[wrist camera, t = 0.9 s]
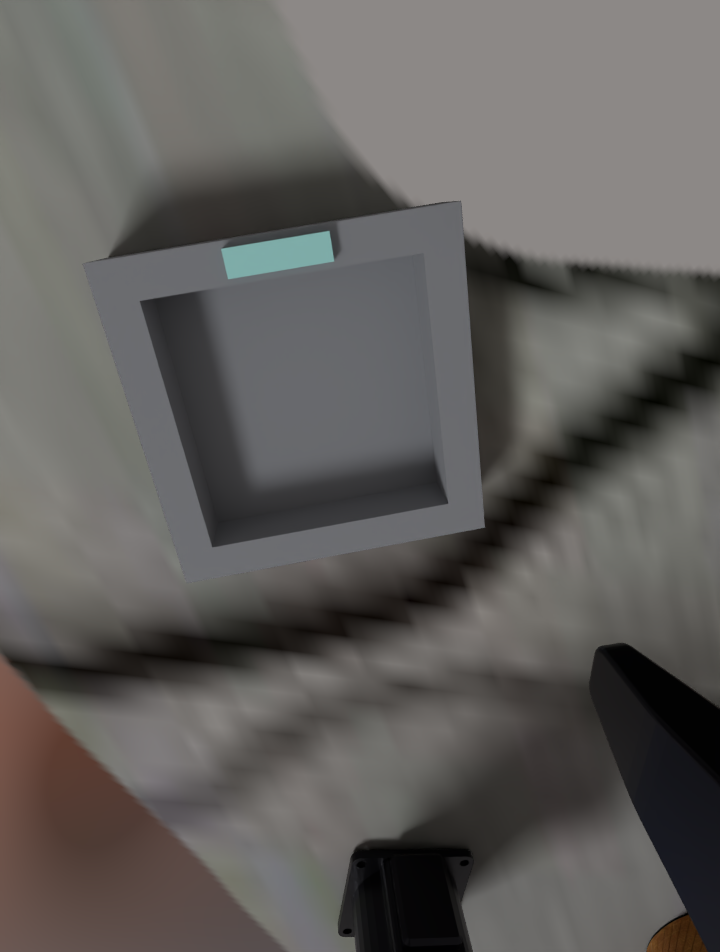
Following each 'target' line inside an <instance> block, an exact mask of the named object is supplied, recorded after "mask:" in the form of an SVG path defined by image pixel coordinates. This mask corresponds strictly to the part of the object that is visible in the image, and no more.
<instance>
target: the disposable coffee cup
mask: <svg viewBox="0 0 720 952" xmlns="http://www.w3.org/2000/svg"><path fill="white" fill-rule="evenodd" d="M647 952H708V951H707V949H706V947H705V945H704V943H703V941H702V939H701V937H700V935H699V933H698V931H697V930H696V928H695V926H694V924H693V922H692V920H691V918H690V916H689V915H687V916H684V917H682V918H679V919H677V920H675V921H673V922H672V923H670V924H668V925H667V926H665V927H664V928H663V929H661V930H660V931H659V932H658V933H657V934H656V935H655V936H654V937H653V939H652V940H651V942H650V943H649V945H648V948H647Z"/></svg>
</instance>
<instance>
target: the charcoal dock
mask: <svg viewBox="0 0 720 952" xmlns="http://www.w3.org/2000/svg"><path fill="white" fill-rule="evenodd" d="M83 266H84V269H85V272H86V276H87V279H88V282H89V285H90V288H91V291H92V294H93V297H94V300H95V303H96V306H97V309H98V312H99V316H100V319H101V322H102V325H103V328H104V331H105V334H106V337H107V340H108V343H109V346H110V349H111V352H112V355H113V359H114V362H115V365H116V368H117V371H118V374H119V377H120V380H121V383H122V386H123V389H124V392H125V395H126V399H127V402H128V405H129V408H130V411H131V414H132V417H133V420H134V423H135V426H136V429H137V432H138V435H139V439H140V442H141V445H142V448H143V451H144V454H145V457H146V460H147V463H148V466H149V469H150V472H151V475H152V478H153V482H154V485H155V488H156V491H157V494H158V497H159V500H160V503H161V506H162V509H163V512H164V515H165V518H166V522H167V525H168V528H169V531H170V534H171V537H172V540H173V543H174V546H175V549H176V552H177V555H178V558H179V561H180V565H181V568H182V571H183V574H184V577H185V580H186V583H191V582H196V581H202V580H207V579H212V578H218V577H223V576H228V575H234V574H239V573H244V572H250V571H255V570H260V569H266V568H271V567H277V566H282V565H287V564H293V563H298V562H303V561H309V560H314V559H319V558H325V557H330V556H335V555H341V554H346V553H351V552H357V551H362V550H367V549H373V548H378V547H383V546H389V545H394V544H399V543H405V542H410V541H415V540H421V539H426V538H431V537H437V536H442V535H447V534H453V533H458V532H463V531H469V530H474V529H479V528H485V525H484V511H483V497H482V483H481V469H480V456H479V442H478V428H477V414H476V400H475V386H474V372H473V358H472V344H471V330H470V317H469V303H468V289H467V275H466V261H465V247H464V233H463V219H462V206H461V201H453V202H441V203H435V204H429V205H423V206H417V207H411V208H405V209H399V210H393V211H387V212H381V213H375V214H369V215H363V216H357V217H351V218H344V219H338V220H332V221H326V222H320V223H314V224H308V225H302V226H296V227H290V228H284V229H278V230H272V231H266V232H260V233H254V234H248V235H242V236H236V237H230V238H224V239H218V240H212V241H206V242H200V243H194V244H188V245H182V246H176V247H170V248H164V249H158V250H152V251H145V252H139V253H133V254H127V255H121V256H115V257H109V258H104V259H100V260H96V261H92V262H87V263H83Z"/></svg>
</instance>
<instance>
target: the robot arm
mask: <svg viewBox="0 0 720 952" xmlns="http://www.w3.org/2000/svg"><path fill="white" fill-rule="evenodd" d="M589 689H590V695H591V699H592V701H593V704H594V707H595V709H596V712H597V714H598V717H599V719H600V722H601V725H602V727H603V730H604V732H605V735H606V737H607V740H608V742H609V745H610V748H611V750H612V753H613V755H614V758H615V760H616V763H617V766H618V768H619V771H620V773H621V776H622V778H623V781H624V784H625V786H626V788H627V791H628V793H629V796H630V798H631V801H632V803H633V805H634V807H635V809H636V811H637V813H638V815H639V818H640V820H641V822H642V824H643V826H644V828H645V830H646V832H647V833H648V835H649V837H650V839H651V841H652V843H653V845H654V847H655V849H656V851H657V853H658V855H659V857H660V859H661V861H662V863H663V865H664V867H665V869H666V871H667V873H668V875H669V877H670V879H671V881H672V882H673V884H674V886H675V888H676V890H677V892H678V894H679V896H680V898H681V900H682V902H683V904H684V906H685V908H686V910H687V912H688V914H689V916H690V918H691V920H692V922H693V924H694V926H695V928H696V930H697V931H698V933H699V935H700V937H701V939H702V941H703V943H704V945H705V947H706V949H707V951H708V952H720V708H719V707H717V706H716V705H715V704H713V703H712V702H710V701H709V700H707V699H706V698H705V697H703V696H702V695H700V694H699V693H697V692H696V691H695V690H693V689H692V688H690V687H689V686H687V685H686V684H685V683H683V682H682V681H680V680H679V679H677V678H676V677H675V676H673V675H672V674H670V673H669V672H667V671H666V670H664V669H663V668H662V667H660V666H659V665H657V664H656V663H654V662H653V661H652V660H650V659H649V658H647V657H646V656H644V655H643V654H642V653H640V652H639V651H637V650H636V649H634V648H633V647H631V646H630V645H628V644H625V643H616V644H610V645H604V646H600V647H598V648H597V650H596V651H595V655H594V660H593V665H592V671H591V676H590V682H589ZM473 862H474V860H473V857H472V853H471V852H470V851H469V850H466V849H444V850H368V851H357V852H355V853H354V854H352V856H351V859H350V864H349V869H348V874H347V880H346V885H345V890H344V895H343V900H342V905H341V910H340V915H339V920H338V933H339V935H340V936H342V937H355V946H356V952H473V950H472V946H471V942H470V938H469V934H468V930H467V926H466V922H465V918H464V914H463V910H462V906H461V901H462V897H463V894H464V891H465V888H466V885H467V882H468V879H469V875H470V872H471V869H472V866H473Z"/></svg>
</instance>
